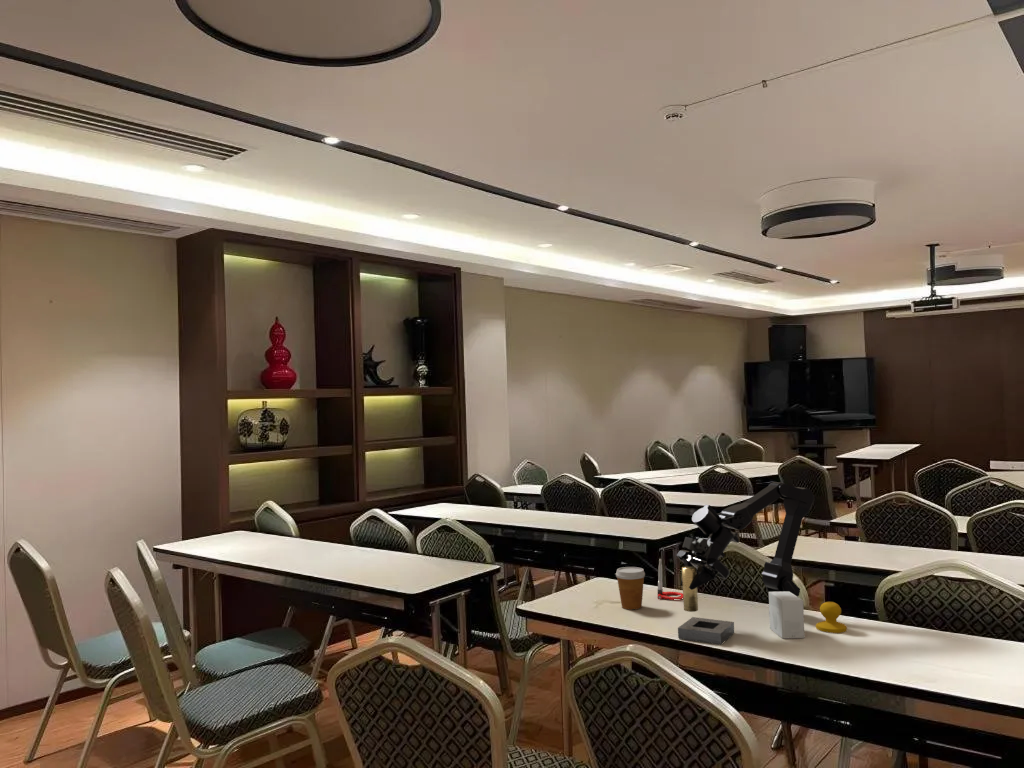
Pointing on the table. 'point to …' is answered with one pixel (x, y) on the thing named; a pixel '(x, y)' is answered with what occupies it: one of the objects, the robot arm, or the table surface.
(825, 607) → the doorknob
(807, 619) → the table surface
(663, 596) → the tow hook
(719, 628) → the block
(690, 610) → the brass pin
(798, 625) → the skincare box
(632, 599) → the disposable coffee cup
